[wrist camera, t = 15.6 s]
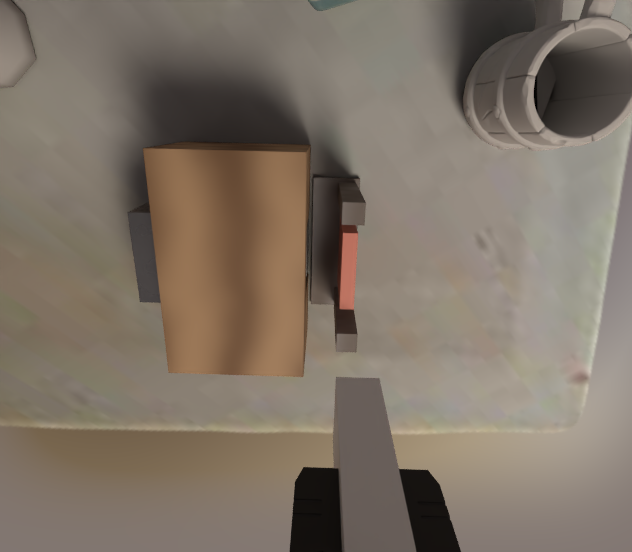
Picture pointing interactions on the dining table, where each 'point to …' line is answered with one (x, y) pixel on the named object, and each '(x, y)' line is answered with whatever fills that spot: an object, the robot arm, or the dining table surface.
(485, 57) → the mug
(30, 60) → the flask
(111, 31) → the dining table surface
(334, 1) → the flower pot
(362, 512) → the robot arm
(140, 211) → the dark grey block
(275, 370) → the block
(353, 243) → the block
